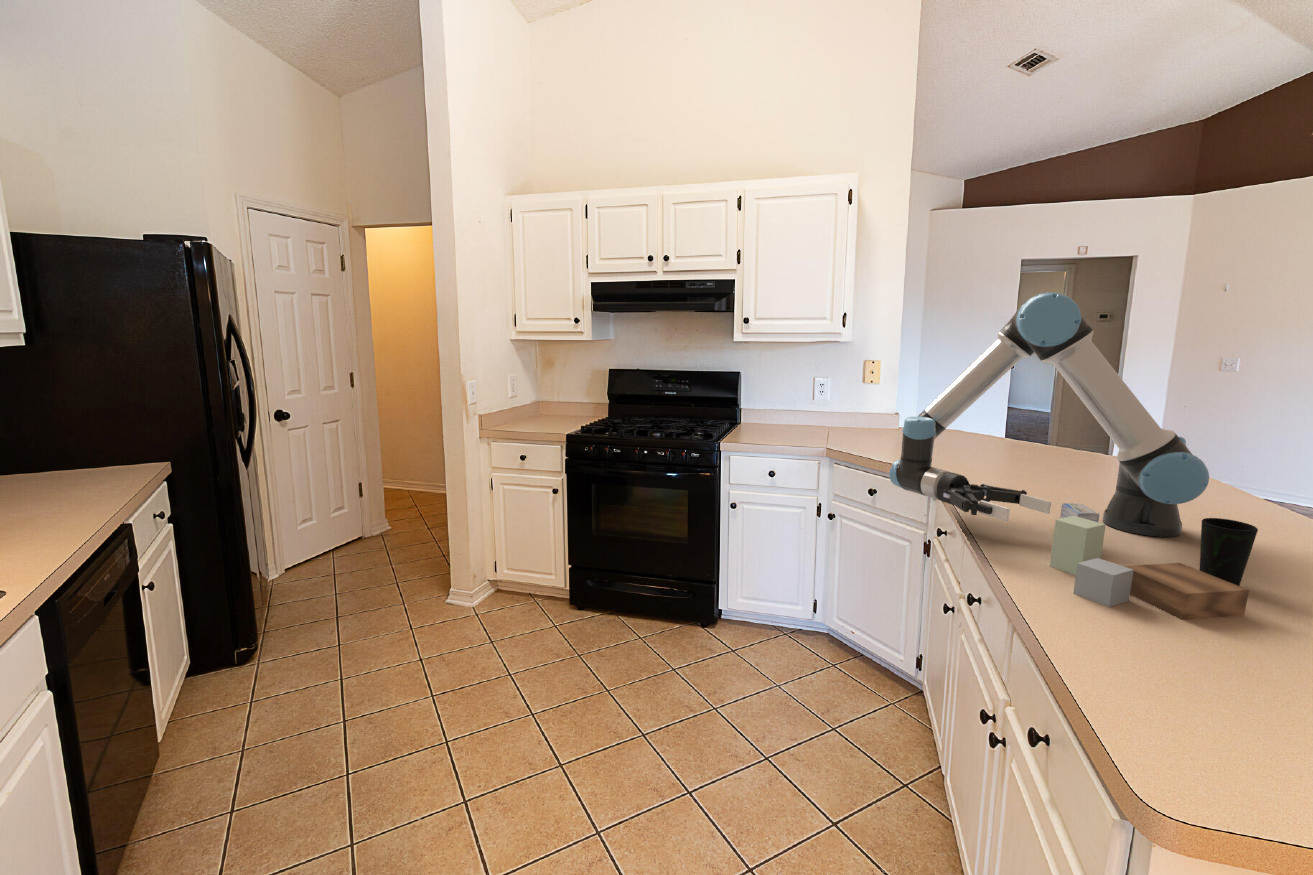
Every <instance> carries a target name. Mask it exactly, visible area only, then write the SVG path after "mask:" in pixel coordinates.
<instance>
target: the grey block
mask: <svg viewBox="0 0 1313 875" xmlns="http://www.w3.org/2000/svg"><path fill="white" fill-rule="evenodd" d="M1124 566H1125V565H1121V564H1117V563H1114V562H1112V561H1108V560H1105V559H1102V558H1101V559H1099V558H1095V559H1092V560H1088V561H1084V562H1080V563H1077V570H1076V575H1075V579H1074V586H1073V594H1074V595H1076V596H1079V597H1082V598H1084V599H1086V600H1089V601H1092V602H1095V603H1097V604H1100V605H1102V606H1105V607H1107V608H1109V607H1110V608H1111V607H1114V606H1116V605H1119V604H1122V603H1123V604H1124V603H1126V602H1129V601H1130V597H1131V595H1130V590H1131V584H1132V577H1133V571H1134V570H1133V569H1130V568H1127V567H1124Z"/></svg>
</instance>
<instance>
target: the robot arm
mask: <svg viewBox="0 0 1313 875" xmlns="http://www.w3.org/2000/svg"><path fill="white" fill-rule="evenodd" d="M1094 333H1095V332H1094V329H1093V328H1092V326H1090V324H1089V323H1088V321H1087V320H1086V319H1085V318H1084V317H1083V315H1082V313H1081V309H1080V307H1079V305H1078V304H1077V302H1076V301H1075V300H1074V299H1072V298H1071V297H1069V296H1067V295H1065V294H1063V293H1061V292H1050V291H1049V292H1043V293H1040V294H1035V296H1033V297H1031V298H1029V299H1027V300H1025V301H1024V302H1023V303H1022V304H1021V305H1019V307H1018V308H1017V310H1016V311H1015V313H1014V315H1013V316H1012V317H1011V318H1010V319H1009V320H1008V322H1007V323H1006V324H1005V325H1004V326H1003V327H1002V328H1001V329H1000V330H999V331H998V333H997V339H996V340H994V341H993V343H991V344H990V345H989V347H987V348H986V350H985V351H983V352H982V353H981V354H980V355H979V356H978V357H977V359H975V360H974V361H973V362H972V363H971V364H970V365H969V366H968V367H967V368H966V369H965V370H964V371H962V373H961V374H960V375H959V376H958V377H957V378H955V379H954V381H952V382H951V383H950V384H948V386H947V387H946V388H945V389H944V390H943V391H942V392H941V393H940V394H939V395H938V396H937V397H935V399H934V400H933V401H932V402H931V403H930V404H928V406H927V407H925V408H924V410H922V411H921V412H920V413H919V414H918V415H916V416H909V417H906V418H905V419H904V422H903V428H902V441H901V455H900V459H897V460H895V461H894V462H893V463H892V464H891V468H890V469H889V472H888V473H889V474H888V475H889V476H888V477H889V480H890V482H891V483H892V484H893V485H894V486H895V487H898V488H901V489H903V490H905V491H908V492H912V493H915V494H919V495H922V496H924V497H927V498H931V499H932V501H935V502H936V501H941V502H943V503H946V504H949V505H952V506H954V507H956V508H957V509H959V510H960V511H962V512H964V513H969V511H970V515H971V516H977V515H978V513H979V514H982V515H985V516H988V517H992V518H995V519H998V520H1001V521H1003V522H1009V520H1010V519H1009V518H1010V511H1011V508H1010V507H1009V508H1008V507H1005V506H1002V505H999V504H996V503H993V502H997V503H998V502H999V503H1000V502H1001V503H1008V504H1016V505H1017V504H1018V505H1019V506H1020V507H1022V508H1026V509H1029V510H1034V511H1037V512H1040V513H1044V514H1050V512H1051V508H1052V501H1050V500H1046V499H1043V498H1039V497H1035V496H1031V495H1029V494H1028V492H1027V491H1026V490H1025V489H1021V490H1017V489H1011V488H1005V487H999V486H993V485H992V486H991V485H988V484H984V483H981V484H980V485H978V484H973V483H970V481H969V480H968V478H967V477H966V476H965V475H962V474H959V473H955V472H951V471H949V470H944V469H940V468H937V467H932V461H933V455H934V454H933V451H934V447H935V446H934V445H935V440H936V439H937V438H938V437H939V436H940V435H941V434H942V433H943V432H944V431H945V430H946V429H947V428H948V427H949V426H950V425H952V423H953V422H955V421H956V420H957V419H958V418H959V417H960V416H961V415H962V414H963V413H964V412H966V411H967V410H968V409H969V408H970V407H971V406H972V405H973V404H974V403H975V402H976V401H978V400H979V399H980V397H982V396H983V395H984V394H985V393H986V392H987V391H988V390H990V388H991V387H993V385H994V384H996V383H997V382H998V381H999V380H1000V379H1001V378H1002V377H1003V376H1004V375H1006V374H1007V373H1008V372H1009V371H1010V370H1011V369H1012V368H1013V367H1014V366H1015V365H1017V364H1018V363H1019V361H1021V360H1023V358H1030V357H1032V355H1036V357H1038V359H1039V360H1040V361H1041V362H1043V363H1048V364H1052V365H1053V366H1054V367H1055V369H1056V370H1057V371H1058V372H1059V373H1060V375H1061V376H1062V378H1063V379H1064V381H1066V383H1067V384H1068V385H1069V386H1070V387H1071V389H1072V390H1073V392H1075V394H1076V395H1077V397H1078V398H1079V399H1080V401H1081V402H1082V403H1083V404H1084V405H1085V407H1086V408H1087V410H1088V412H1090V413H1091V415H1092V416H1093V417H1094V419H1095V420H1096V421H1097V423H1098V424H1099V425H1100V427H1101V428H1102V429H1103V430H1104V431H1105V433H1107V435H1108V437H1109V438H1110V439H1111V440H1112V442H1113V443H1114V444H1115V445H1116V447H1117V448H1118V452H1117V455H1116V459H1117V460H1118V464H1119V465H1118V472H1117V479H1116V487H1115V492H1114V493H1113V496H1112V497H1111V499H1110V501H1109V503H1108V505H1107V507H1106V509H1105V510H1104V511H1103V516H1102V523H1103V524H1106V525H1107V526H1108V527H1111V528H1114V529H1116V530H1120V531H1123V532H1128V533H1130V534H1131V533H1133V534H1136V535H1142V536H1143V535H1144V536H1148V537H1149V536H1150V537H1160V538H1161V537H1162V538H1170V537H1178V536H1181V534H1182V531H1183V522H1182V521H1181V514H1180V510H1179V507H1178V505H1181V504H1185V503H1188V502H1191V501H1193V500H1196V499H1197V498H1198V497H1200V496H1201V495H1202V494H1203V493H1204V492H1205V490H1206V489H1207V487H1208V485H1209V482H1210V473H1209V470H1208V467H1207V466H1206V464H1205V463H1204V461H1203V460H1202V459H1201V458H1199V457H1198V456H1196V455H1194V454H1193V453H1192V452H1191V451H1190V450H1189V448H1188V447H1187V445H1186V442H1187V441H1186V439H1185V437H1183V436H1178V434H1176V432H1175V431H1174V430H1171V429H1170V430H1169V429H1163V428H1161V427H1160V425H1159V424H1158V423H1157V422H1156V420H1155V419H1154V418H1153V417H1152V415H1151V414H1150V412H1148V410H1147V409H1146V408H1145V406H1143V403H1142V402H1140V400H1139V398H1137V396H1136V395H1135V393H1133V391H1132V390H1131V389H1130V387H1128V385H1127V383H1126V382H1125V381H1124V380H1123V379H1122V377H1121V376H1120V375H1119V374H1118V372H1117V371H1116V370H1115V369H1114V367H1113V366H1112V365H1111V364H1110V363H1109V361H1108V360H1107V359H1106V357H1105V356H1104V355H1103V354H1102V352H1101V351H1100V350H1099V349H1098V347H1097V346H1096V345H1095V343H1094V342H1093V341H1092V340H1093V337H1094V336H1093V335H1094ZM991 501H993V502H991Z"/></svg>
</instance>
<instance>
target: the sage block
mask: <svg viewBox="0 0 1313 875" xmlns="http://www.w3.org/2000/svg"><path fill="white" fill-rule="evenodd" d="M1106 525H1107V524H1105V523H1103V522H1095V521H1091V520H1088V519H1084V518H1080V517H1077V516H1071V517H1066V518H1061V519H1060V518H1057V519H1055V523H1054V530H1053V536H1052V538H1053V539H1052V547H1051V554H1050V555H1051V556H1050V560H1049V561H1050V562H1049V567H1050V568H1054V569H1057V570H1059V571H1062V572H1064V573H1068V574H1071V575H1074V576H1076V570H1077V563H1080V562H1084V561H1088V560H1092V559H1095V558H1099V559H1102V553H1103V548H1104V547H1103V545H1104V539H1105V532H1106V531H1105V530H1106Z"/></svg>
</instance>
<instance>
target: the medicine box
mask: <svg viewBox="0 0 1313 875" xmlns="http://www.w3.org/2000/svg"><path fill="white" fill-rule="evenodd" d="M1071 516H1077V517H1080V518H1084V519H1088V520H1091V521H1095V522H1099V521H1100V514H1099V513H1098V512H1097V511H1095V510H1094V509H1092V508H1090V507H1088V506H1087V505H1085V504H1082V503H1075V502H1073V503H1072V502H1069V503H1067V502H1065V503H1061V506H1060V517H1059V519H1061V518H1066V517H1071ZM1099 523H1100V522H1099Z"/></svg>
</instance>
